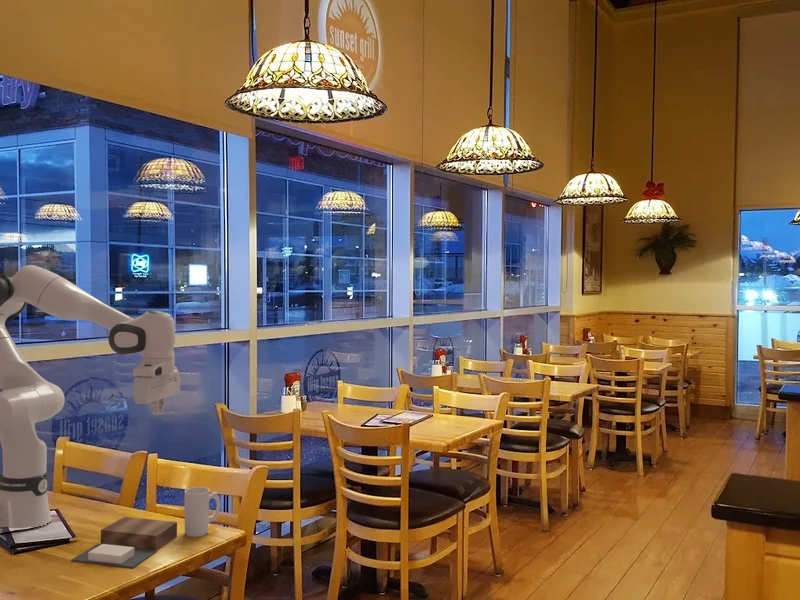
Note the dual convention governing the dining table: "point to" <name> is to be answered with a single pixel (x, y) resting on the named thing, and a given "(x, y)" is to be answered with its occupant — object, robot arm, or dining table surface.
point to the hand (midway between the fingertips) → (157, 414)
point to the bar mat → (130, 563)
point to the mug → (199, 510)
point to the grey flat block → (111, 553)
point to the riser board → (139, 533)
